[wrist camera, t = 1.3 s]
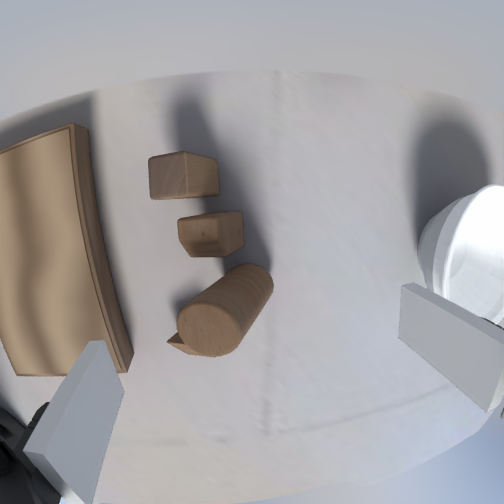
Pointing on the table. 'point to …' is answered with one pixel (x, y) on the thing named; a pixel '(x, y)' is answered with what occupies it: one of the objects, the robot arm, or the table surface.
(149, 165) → the wooden block set
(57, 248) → the plinth
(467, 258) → the bowl
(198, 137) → the table surface
